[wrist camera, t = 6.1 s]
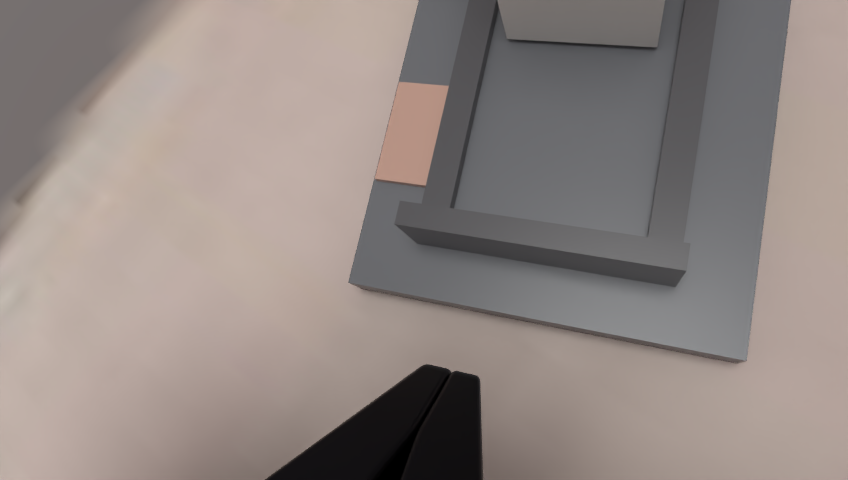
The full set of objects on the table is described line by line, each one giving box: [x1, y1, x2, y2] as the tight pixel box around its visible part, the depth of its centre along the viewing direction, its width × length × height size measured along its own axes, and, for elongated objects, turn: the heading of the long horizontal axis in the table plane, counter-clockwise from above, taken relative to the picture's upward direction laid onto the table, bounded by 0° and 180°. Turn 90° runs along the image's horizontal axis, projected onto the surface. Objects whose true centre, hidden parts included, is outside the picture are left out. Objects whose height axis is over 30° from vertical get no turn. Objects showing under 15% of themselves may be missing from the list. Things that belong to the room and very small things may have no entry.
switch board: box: [348, 0, 791, 363], centre depth 16 cm, size 14×10×3 cm
